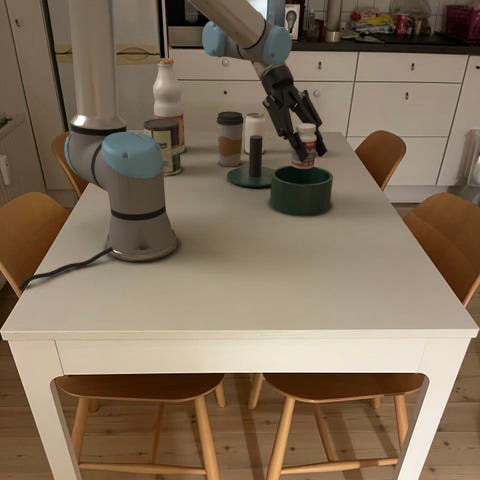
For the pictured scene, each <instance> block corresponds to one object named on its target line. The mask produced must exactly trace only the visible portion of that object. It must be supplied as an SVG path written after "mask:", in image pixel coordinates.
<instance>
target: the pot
mask: <svg viewBox="0 0 480 480" xmlns="http://www.w3.org/2000/svg"><path fill="white" fill-rule="evenodd" d="M274 169H275V170H274V171H273V172H272V175H271V186H270V195H269V196H270V197H269V201H270V202H269V203H270V206H271V208H272V209H273V210H275V211H276V212H279V213H282V214H285V215H289V216H296V217H309V216H317V215H321V214H324V213H326V212H327V211H328V210H329V208H330V205H331V198H332V189H333V181H334V176H333V173H332V172H330V171H329V170H327V169H325V168H322V167H318V166H315V165H314V166H313V167H312V168H309V169H299V168H295V167H293V166H292V164H291V165H284V166H279V167H277V168H274Z"/></svg>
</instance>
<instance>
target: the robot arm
mask: <svg viewBox="0 0 480 480" xmlns="http://www.w3.org/2000/svg"><path fill="white" fill-rule="evenodd" d="M186 1H187V2H188V3H190V4H191V5H192V6H193V7H194V8H195V9H196V10H198V11H199V12H200V13H201V14H202V15H203V16H205V18H207V19H208V20H209V21H208V22H207V23H206V24H205V26H204V27H203V29H202V37H201V38H202V39H201V41H202V42H201V43H202V47H203V49H204V51H205V53H206V54H207V55H208V56H210V57H213V58H214V57H215V58H216V57H217V58H232V59H237V60H242V61H247V62H248V61H249V62H250V63H251V65H252V66H253V68H254V69H253V70H254V71H255V73H256V75H257V77H258V79H259V82H261V86H262V87H263V90H264V91H265V94H266V97H265V98H264V99H263V101H262V103H261V104H262V105H263V107H264V108H265V110H266V111H267V113H268V116H269V117H270V120H271V122H272V124H273V125H272V126H273V127H274V129H275V131H276V134H277V136H278V137H279V138H282V139H283V140H284V141H288V143H289V145H290V148H292V150H293V149H294V150H295V152H296V154H297V156H298V158H299V160H300V162H303V161H304V160H305V159H306V158H307V157H308V156H309V155H308V153H307V151H306V149H305V147H304V145H303V143H302V140H301V138H300V136H299V134H298V132H297V131H295V130H294V126H293V119H292V115H291V112H292V113H295V115H296V116H297V117H298V119H299V120H300V122H301V124H302V123H309V124H314V125H315V126H316V131H315V132H314V134H315V135H316V138H317V140H316V154H317V157H319V158H322V157H323V156H325V154H326V153H328V149H327V147H326V144H325V143H324V141H323V140H324V137H323V136H322V133H321V131H320V130H319V128H320V127H321V126H322V125H323V121H322V118H321V117H320V114H319V113H318V112H317V109H316V108H315V106H314V103H313V102H312V100H311V98H310V95H309V90H307V89H303V91H300V90H298V88H297V87H296V86H295V84H294V83H295V82H294V81H295V78H294V76H293V74H292V72H291V70H290V68H289V66H288V65H287V62H286V61H287V60H288V58H289V56H290V53H291V51H292V45H293V42H292V41H293V39H292V36H291V33H290V32H289V30H288V29H287V28H285V27H283V26H280V25H277V24H275V25H273V24H272V23H270V22H269V21H268V20H267V19H266V18H265V17H264V16H263V14H262V13H261V12H260V11H258V10H257V9H256V8H255V7H254V6H253V5H252V4H251V3H250V2H249V1H248V0H186ZM67 2H68V12H69V13H68V14H69V24H70V26H69V27H70V38H71V52H72V53H71V54H72V63H73V65H72V66H73V76H74V90H75V101H76V114H75V115H74V116H73V117H72V118H71V119H70V132H69V135H68V136H67V137H66V138H65V142H64V150H63V151H64V157H65V161H66V163H67V165H68V166H69V168H70V169H71V171H73V173H74V174H76V175H77V176H78V177H79V178H81V179H82V180H83V181H84V182H87V183H89V184H92V185H94V186H96V187H98V188H100V189H102V190H103V191H105V192H107V194H108V200H109V206H110V208H109V209H110V220H109V221H110V222H109V226H108V234H107V236H106V249H104V250H102V251H101V252H100V251H99V253H97V254H94V256H92V257H91V258H89V259H86V260H84V261H80V262H74V263H73V262H72V263H68V264H65V265H62V266H60V267H58V268H56V269H53V270H51V271H48V272H43V273H36V274H33V275H31V276H28V277H27V278H25V279H24V280H23V281H22V282H21V283H20V284H19V286H18V288H17V289H18V291H20V290H24V289H25V287H26V286H27V285H28V284H30V282H32V281H34V280H39V279H42V278H48V277H49V278H50V277H53V276H54V275H57V274H59V273H62V272H63V271H66V270H69V269H73V268H79V267H84V266H87V265H90V264H92V263H94V262H95V261H97V260H98V259H100V258H102V257H103V256H105V255H107V254H110V255H111V256H112V257H114V258H116V259H118V260H121V261H127V262H138V263H139V262H140V263H141V262H151V261H156V260H159V259H162V258H164V257H166V256H168V255H170V254H172V253H173V252H174V251H175V250H176V248H177V235H176V232H175V230H174V229H173V227H172V224H171V221H170V218H169V215H168V214H167V206H166V193H165V191H166V189H165V176H163V158H162V153H161V148H160V145H159V144H158V142H157V141H156V140H155V139H153V138H152V137H150V136H148V135H145V133H141V132H139V133H135V132H134V131H128V129H127V122H126V121H125V120H124V119H123V117H122V116H121V115H120V111H119V109H120V108H119V88H118V87H119V84H118V60H117V36H116V35H117V34H116V9H115V0H67Z"/></svg>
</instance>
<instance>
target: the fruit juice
mask: <svg viewBox="0 0 480 480" xmlns="http://www.w3.org/2000/svg"><path fill="white" fill-rule="evenodd" d="M174 63H175V62H174V59H173V58H169V57H161V58H157V66H158V71H157V75H156V76H157V77H156V79H155V81H154V83H153V86H152V94H153V97H154V104H153V116H154V119H173V120H176V121H178V122H179V126H178V127H179V145H180V154H181V153H184V152H185V149H186V141H185V125H184V124H185V123H184V106H183V102H182V99H181V98H182V93H183V91H182V89H183V88H182V85H181V83H180V82H179V80H178V79H177V77H176V74H175V71H174Z"/></svg>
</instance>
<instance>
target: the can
mask: <svg viewBox="0 0 480 480" xmlns="http://www.w3.org/2000/svg"><path fill="white" fill-rule="evenodd" d="M244 123H245V124H244V125H245V126H244V127H245V128H244V151H245V153H246V154H248V155H249V154H250V136H253V135H259V136H262V137H263V140H262V154H263V153H264V152H265V134H266V118H265V114H264V113H262V112H261V113H260V112H249V113H247V114H246V118H245V122H244Z"/></svg>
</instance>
